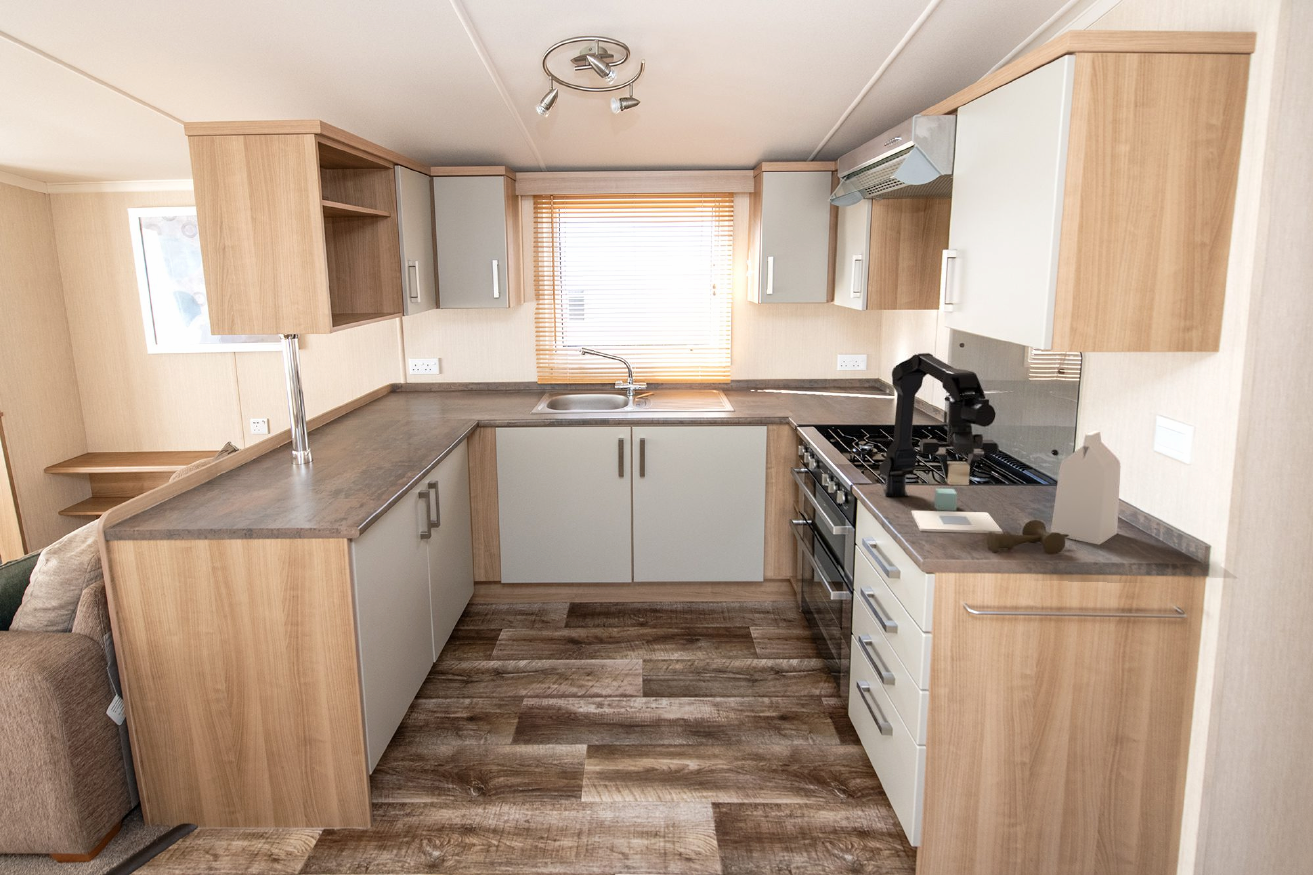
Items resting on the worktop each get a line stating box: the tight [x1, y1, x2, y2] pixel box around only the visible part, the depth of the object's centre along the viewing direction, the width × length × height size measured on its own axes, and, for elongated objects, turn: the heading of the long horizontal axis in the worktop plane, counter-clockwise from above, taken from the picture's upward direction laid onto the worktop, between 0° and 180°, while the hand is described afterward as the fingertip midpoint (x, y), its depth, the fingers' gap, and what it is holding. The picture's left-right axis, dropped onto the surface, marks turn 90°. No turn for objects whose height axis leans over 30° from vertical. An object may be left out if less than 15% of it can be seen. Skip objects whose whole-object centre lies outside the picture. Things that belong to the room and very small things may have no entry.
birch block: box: [944, 461, 970, 486], centre depth 211 cm, size 5×5×5 cm
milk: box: [1050, 430, 1121, 545], centre depth 201 cm, size 12×12×26 cm
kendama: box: [985, 519, 1069, 555], centre depth 193 cm, size 6×10×20 cm
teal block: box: [934, 488, 958, 512], centre depth 227 cm, size 5×5×5 cm
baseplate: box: [911, 510, 1003, 534], centre depth 214 cm, size 16×20×1 cm
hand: (956, 478), depth 211 cm, fingers closed on birch block, 5 cm apart
